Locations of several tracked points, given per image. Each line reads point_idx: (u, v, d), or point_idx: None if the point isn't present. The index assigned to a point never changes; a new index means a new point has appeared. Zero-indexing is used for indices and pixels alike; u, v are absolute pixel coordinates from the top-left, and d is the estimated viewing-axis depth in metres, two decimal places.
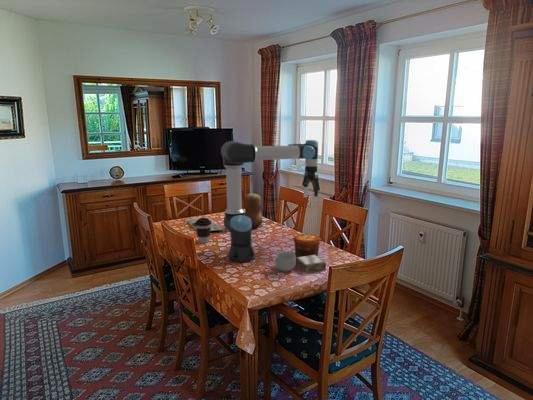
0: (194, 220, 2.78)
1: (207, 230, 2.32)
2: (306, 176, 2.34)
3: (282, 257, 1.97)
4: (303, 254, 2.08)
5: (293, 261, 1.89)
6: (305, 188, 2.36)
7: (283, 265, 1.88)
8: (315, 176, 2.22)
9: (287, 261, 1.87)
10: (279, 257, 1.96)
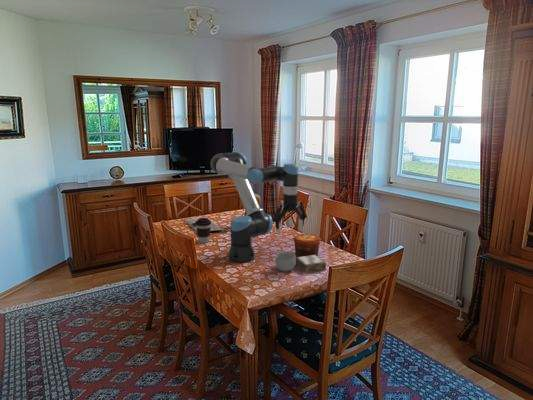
0: (193, 220, 2.78)
1: (207, 230, 2.32)
2: (299, 206, 1.97)
3: (282, 257, 1.97)
4: (303, 254, 2.08)
5: (293, 261, 1.89)
6: (299, 220, 1.99)
7: (283, 265, 1.88)
8: (278, 205, 1.90)
9: (287, 261, 1.87)
10: (279, 257, 1.96)
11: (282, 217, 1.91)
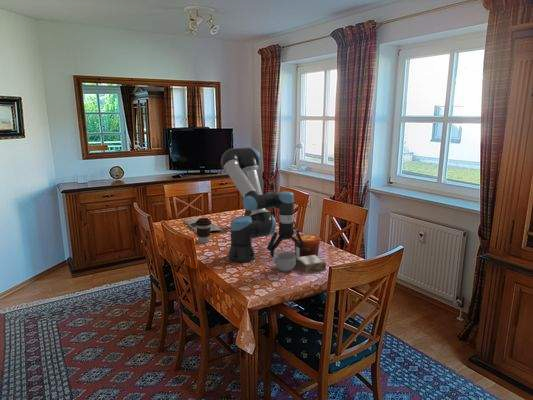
0: (192, 220, 2.77)
1: (207, 230, 2.32)
2: (296, 234, 1.94)
3: (282, 257, 1.97)
4: (303, 254, 2.08)
5: (293, 261, 1.89)
6: (296, 248, 1.96)
7: (283, 265, 1.88)
8: (273, 233, 1.89)
9: (287, 261, 1.87)
10: (279, 257, 1.96)
11: (277, 245, 1.89)
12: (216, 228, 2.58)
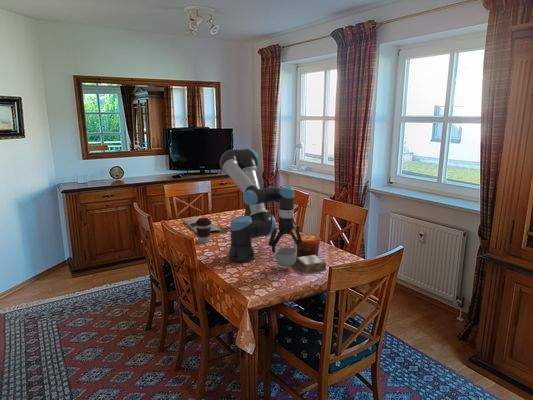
0: (191, 220, 2.77)
1: (207, 230, 2.32)
2: (295, 230, 1.93)
3: (283, 252, 1.98)
4: (303, 254, 2.08)
5: (294, 256, 1.90)
6: (294, 245, 1.95)
7: (284, 260, 1.88)
8: (273, 229, 1.89)
9: (288, 256, 1.88)
10: (280, 252, 1.97)
11: (278, 240, 1.90)
12: (215, 228, 2.58)
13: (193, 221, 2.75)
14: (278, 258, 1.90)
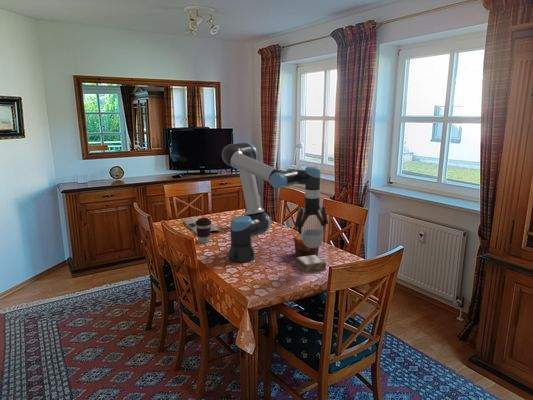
0: (191, 220, 2.77)
1: (207, 230, 2.32)
2: (321, 211, 1.92)
3: (308, 234, 1.96)
4: (303, 254, 2.08)
5: (321, 237, 1.88)
6: (320, 226, 1.94)
7: (311, 241, 1.87)
8: (299, 210, 1.88)
9: (315, 237, 1.86)
10: (306, 234, 1.95)
11: (304, 221, 1.89)
12: (214, 228, 2.58)
13: (192, 221, 2.75)
14: (305, 239, 1.89)
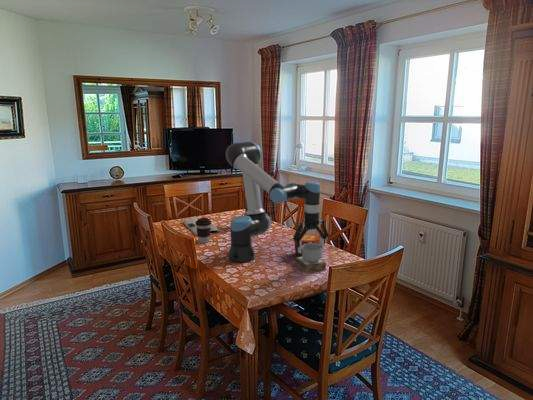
0: (190, 221, 2.77)
1: (207, 230, 2.32)
2: (321, 225, 1.94)
3: (308, 248, 1.98)
4: None
5: (320, 252, 1.90)
6: (320, 239, 1.96)
7: (310, 256, 1.89)
8: (299, 223, 1.90)
9: (314, 252, 1.88)
10: (305, 248, 1.97)
11: (303, 235, 1.90)
12: (213, 228, 2.57)
13: (191, 221, 2.75)
14: (304, 254, 1.91)
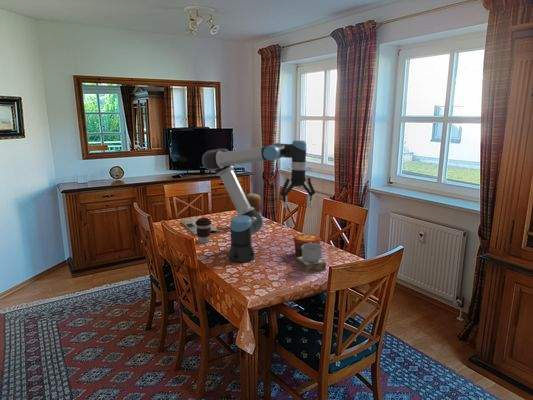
0: (188, 221, 2.76)
1: (207, 230, 2.32)
2: (308, 182, 2.04)
3: (308, 248, 1.98)
4: None
5: (320, 252, 1.90)
6: (307, 196, 2.06)
7: (310, 256, 1.89)
8: (286, 180, 2.00)
9: (314, 252, 1.88)
10: (305, 248, 1.97)
11: (289, 191, 2.01)
12: (212, 228, 2.57)
13: (190, 221, 2.74)
14: (304, 254, 1.91)
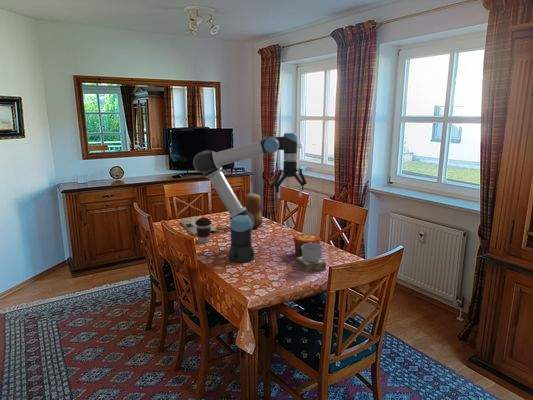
0: (187, 221, 2.76)
1: (207, 230, 2.32)
2: (299, 173, 2.13)
3: (308, 248, 1.98)
4: None
5: (320, 252, 1.90)
6: (299, 186, 2.15)
7: (310, 256, 1.89)
8: (278, 171, 2.09)
9: (314, 252, 1.88)
10: (305, 248, 1.97)
11: None
12: (211, 229, 2.57)
13: (189, 222, 2.74)
14: (304, 254, 1.91)
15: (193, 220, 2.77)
